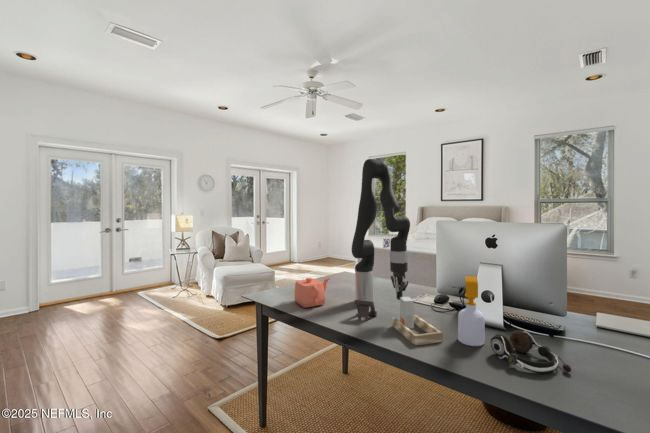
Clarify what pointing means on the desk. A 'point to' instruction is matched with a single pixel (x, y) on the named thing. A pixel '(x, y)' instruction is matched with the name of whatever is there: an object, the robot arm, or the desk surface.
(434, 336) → the wooden tray
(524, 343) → the headset
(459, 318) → the soap bottle
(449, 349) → the desk surface
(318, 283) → the teapot
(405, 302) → the skincare box
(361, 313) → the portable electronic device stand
